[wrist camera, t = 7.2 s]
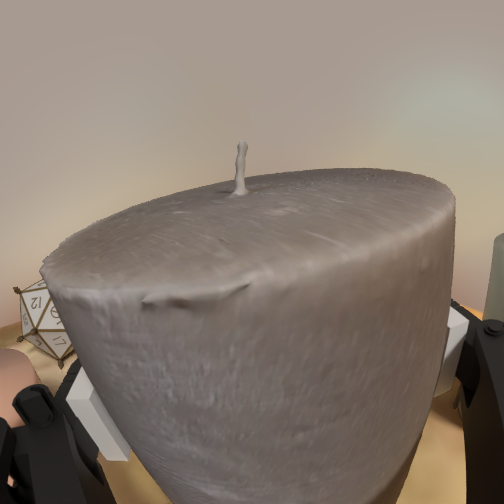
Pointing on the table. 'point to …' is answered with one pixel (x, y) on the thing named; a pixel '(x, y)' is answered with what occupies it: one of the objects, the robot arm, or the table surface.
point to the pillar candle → (267, 331)
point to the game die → (42, 322)
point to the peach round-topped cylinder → (14, 384)
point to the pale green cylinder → (495, 286)
